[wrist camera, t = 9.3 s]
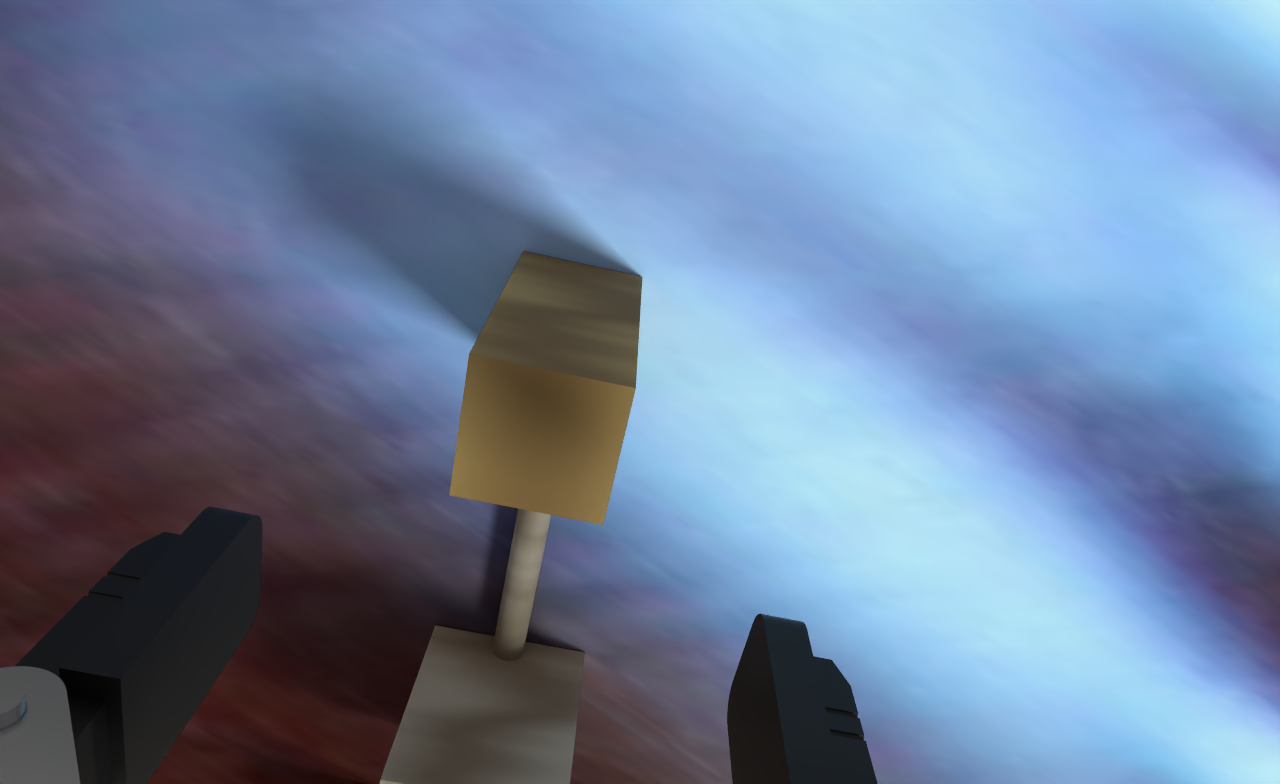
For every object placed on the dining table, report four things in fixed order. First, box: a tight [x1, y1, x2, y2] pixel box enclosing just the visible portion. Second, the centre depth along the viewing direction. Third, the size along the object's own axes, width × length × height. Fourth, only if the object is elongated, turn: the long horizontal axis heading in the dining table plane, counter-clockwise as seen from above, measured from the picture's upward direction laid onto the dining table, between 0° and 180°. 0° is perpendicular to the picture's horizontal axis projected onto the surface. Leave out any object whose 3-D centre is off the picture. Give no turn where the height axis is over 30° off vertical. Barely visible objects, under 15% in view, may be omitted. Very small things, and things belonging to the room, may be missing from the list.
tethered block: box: [380, 251, 642, 784], centre depth 23 cm, size 5×18×7 cm, turn 168°
